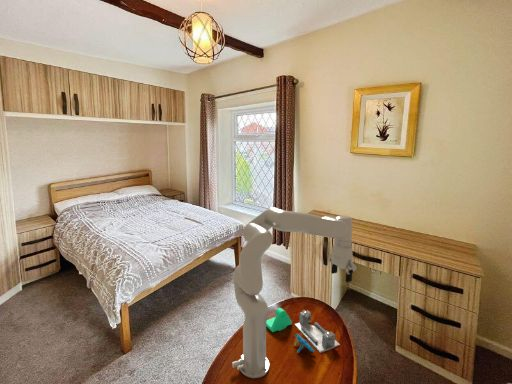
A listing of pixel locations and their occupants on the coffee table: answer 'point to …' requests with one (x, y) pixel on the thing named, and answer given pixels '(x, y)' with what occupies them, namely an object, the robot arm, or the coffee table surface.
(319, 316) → the coffee table surface
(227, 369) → the coffee table surface
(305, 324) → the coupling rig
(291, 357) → the coffee table surface
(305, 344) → the gear
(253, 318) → the robot arm
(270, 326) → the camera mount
